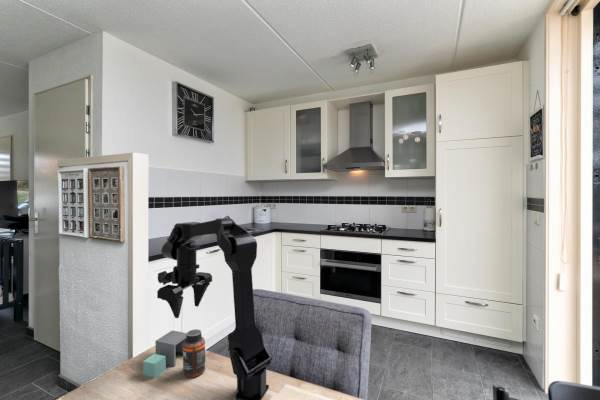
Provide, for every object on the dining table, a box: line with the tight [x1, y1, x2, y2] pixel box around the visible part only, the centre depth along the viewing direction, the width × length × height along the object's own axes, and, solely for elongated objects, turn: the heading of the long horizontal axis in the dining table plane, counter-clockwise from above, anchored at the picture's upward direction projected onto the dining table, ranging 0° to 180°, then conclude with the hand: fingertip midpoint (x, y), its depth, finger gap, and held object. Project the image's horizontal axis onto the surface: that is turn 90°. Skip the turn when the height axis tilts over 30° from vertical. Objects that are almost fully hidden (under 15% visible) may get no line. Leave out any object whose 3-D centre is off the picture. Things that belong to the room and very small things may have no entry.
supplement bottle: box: [182, 328, 206, 378], centre depth 82 cm, size 6×6×11 cm
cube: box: [142, 353, 167, 379], centre depth 82 cm, size 4×4×4 cm
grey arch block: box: [155, 329, 187, 368], centre depth 89 cm, size 7×7×6 cm
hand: (187, 311), depth 91 cm, fingers open, 9 cm apart
